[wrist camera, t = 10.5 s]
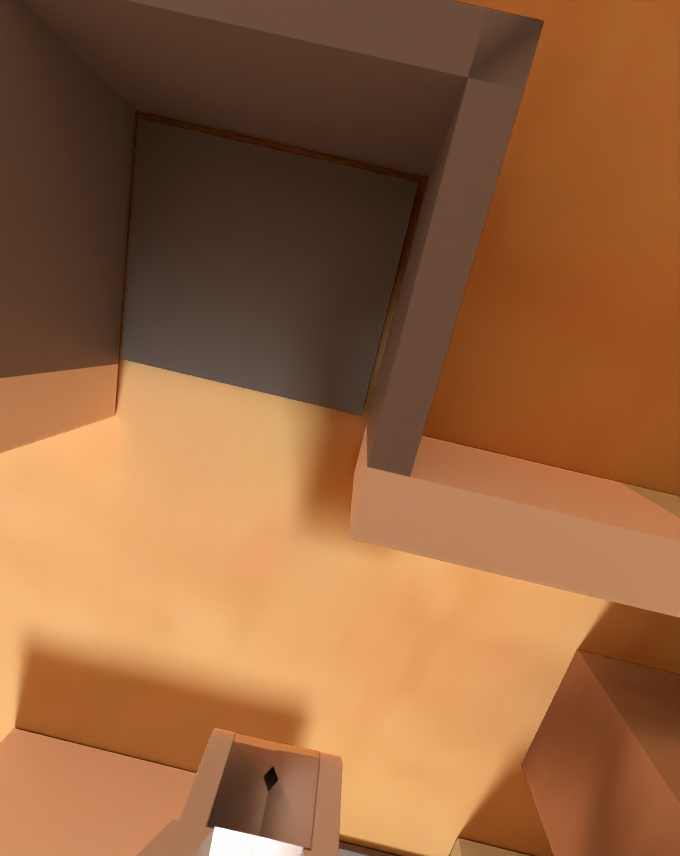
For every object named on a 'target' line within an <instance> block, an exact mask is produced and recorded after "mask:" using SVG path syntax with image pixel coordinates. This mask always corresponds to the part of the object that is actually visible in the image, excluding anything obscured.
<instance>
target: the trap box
mask: <svg viewBox="0 0 680 856" xmlns="http://www.w3.org/2000/svg"><path fill="white" fill-rule="evenodd" d="M543 23H544V21H543V20H538V19H534V18H529V17H525V16H520V15H516V14H511V13H507V12H502V11H498V10H493V9H489V8H484V7H480V6H475V5H471V4H467V3H462V2H458V1H453V0H0V453H2V452H6V451H9V450H12V449H15V448H18V447H21V446H24V445H27V444H30V443H33V442H36V441H39V440H42V439H45V438H48V437H51V436H55V435H58V434H61V433H64V432H67V431H70V430H73V429H76V428H79V427H82V426H85V425H88V424H91V423H94V422H97V421H101V420H104V419H107V418H110V417H113V416H115V404H116V390H117V375H118V361H119V347H120V333H121V319H122V305H123V291H124V276H125V262H126V248H127V234H128V220H129V206H130V191H131V177H132V163H133V149H134V135H135V121H136V111H139V112H143V113H147V114H152V115H156V116H160V117H165V118H169V119H174V120H178V121H182V122H187V123H191V124H195V125H200V126H204V127H209V128H213V129H217V130H222V131H226V132H230V133H235V134H239V135H243V136H248V137H252V138H257V139H261V140H265V141H270V142H274V143H278V144H283V145H287V146H292V147H296V148H300V149H305V150H309V151H313V152H318V153H322V154H327V155H331V156H335V157H340V158H344V159H348V160H353V161H357V162H362V163H366V164H370V165H375V166H379V167H383V168H388V169H392V170H396V171H401V172H405V173H410V174H414V175H418V176H423V177H427V178H428V181H427V185H426V189H425V193H424V197H423V201H422V205H421V209H420V213H419V217H418V221H417V225H416V229H415V233H414V237H413V241H412V245H411V249H410V253H409V257H408V261H407V265H406V269H405V273H404V277H403V280H402V284H401V288H400V292H399V296H398V300H397V304H396V308H395V312H394V316H393V320H392V324H391V328H390V332H389V336H388V340H387V344H386V348H385V352H384V356H383V360H382V364H381V368H380V372H379V376H378V380H377V384H376V388H375V392H374V396H373V400H372V404H371V408H370V412H369V416H368V420H367V423H366V427H365V431H364V435H363V439H362V443H361V447H360V451H359V455H358V459H357V463H356V467H355V471H354V480H353V491H352V503H351V514H350V526H349V537H348V538H349V539H353V540H357V541H361V542H366V543H370V544H374V545H378V546H382V547H386V548H391V549H395V550H399V551H403V552H407V553H412V554H416V555H420V556H424V557H428V558H432V559H437V560H441V561H445V562H449V563H453V564H457V565H462V566H466V567H470V568H474V569H478V570H483V571H487V572H491V573H495V574H499V575H503V576H508V577H512V578H516V579H520V580H524V581H529V582H533V583H537V584H541V585H545V586H549V587H554V588H558V589H562V590H566V591H570V592H574V593H579V594H583V595H587V596H591V597H595V598H600V599H604V600H608V601H612V602H616V603H620V604H625V605H629V606H633V607H637V608H641V609H646V610H650V611H654V612H658V613H662V614H666V615H671V616H675V617H679V618H680V496H676V495H672V494H667V493H663V492H659V491H655V490H650V489H646V488H642V487H638V486H633V485H629V484H625V483H621V482H616V481H612V480H608V479H604V478H600V477H595V476H591V475H587V474H583V473H578V472H574V471H570V470H566V469H561V468H557V467H553V466H549V465H544V464H540V463H536V462H532V461H527V460H523V459H519V458H515V457H511V456H506V455H502V454H498V453H494V452H489V451H485V450H481V449H477V448H472V447H468V446H464V445H460V444H455V443H451V442H447V441H443V440H438V439H434V438H430V437H426V436H422V434H423V431H424V428H425V424H426V421H427V417H428V414H429V411H430V407H431V404H432V400H433V397H434V394H435V390H436V387H437V383H438V380H439V377H440V373H441V370H442V366H443V363H444V360H445V356H446V353H447V349H448V346H449V343H450V339H451V336H452V332H453V329H454V326H455V322H456V319H457V315H458V312H459V309H460V305H461V302H462V298H463V295H464V292H465V288H466V285H467V281H468V278H469V275H470V271H471V268H472V264H473V261H474V258H475V254H476V251H477V247H478V244H479V241H480V237H481V234H482V230H483V227H484V224H485V220H486V217H487V213H488V210H489V207H490V203H491V200H492V196H493V193H494V190H495V186H496V183H497V179H498V176H499V173H500V169H501V166H502V162H503V159H504V156H505V152H506V149H507V145H508V142H509V139H510V135H511V132H512V128H513V125H514V122H515V118H516V115H517V111H518V108H519V105H520V101H521V98H522V94H523V91H524V88H525V84H526V81H527V77H528V74H529V71H530V67H531V64H532V60H533V57H534V54H535V50H536V47H537V43H538V40H539V37H540V33H541V30H542V26H543ZM418 183H419V182H416V181H412V180H408V179H403V178H399V177H395V176H390V175H386V174H381V173H377V172H373V171H368V170H364V169H360V168H355V167H351V166H347V165H342V164H338V163H333V162H329V161H325V160H320V159H316V158H312V157H307V156H303V155H298V154H294V153H290V152H285V151H281V150H277V149H272V148H268V147H264V146H259V145H255V144H250V143H246V142H242V141H237V140H233V139H229V138H224V137H220V136H215V135H211V134H207V133H202V132H198V131H194V130H189V129H185V128H181V127H176V126H172V125H167V124H163V123H159V122H154V121H150V120H146V119H141V118H139V121H138V135H137V148H136V162H135V176H134V190H133V204H132V217H131V231H130V245H129V259H128V273H127V286H126V300H125V314H124V328H123V342H122V356H121V359H124V360H128V361H132V362H137V363H141V364H145V365H149V366H154V367H158V368H162V369H166V370H171V371H175V372H179V373H183V374H188V375H192V376H196V377H200V378H204V379H209V380H213V381H217V382H221V383H226V384H230V385H234V386H238V387H243V388H247V389H251V390H255V391H260V392H264V393H268V394H272V395H277V396H281V397H285V398H289V399H294V400H298V401H302V402H306V403H311V404H315V405H319V406H323V407H327V408H332V409H336V410H340V411H344V412H349V413H353V414H357V415H361V414H362V410H363V406H364V402H365V398H366V394H367V390H368V386H369V382H370V378H371V374H372V370H373V366H374V362H375V358H376V353H377V349H378V345H379V341H380V337H381V333H382V329H383V325H384V321H385V317H386V313H387V309H388V305H389V301H390V297H391V293H392V289H393V284H394V280H395V276H396V272H397V268H398V264H399V260H400V256H401V252H402V248H403V244H404V240H405V236H406V232H407V228H408V224H409V220H410V216H411V211H412V207H413V203H414V199H415V195H416V191H417V187H418ZM195 775H196V773H193V772H189V771H185V770H181V769H177V768H173V767H169V766H165V765H161V764H157V763H153V762H149V761H145V760H141V759H137V758H133V757H128V756H124V755H120V754H116V753H112V752H108V751H104V750H100V749H96V748H92V747H88V746H84V745H80V744H76V743H72V742H68V741H64V740H60V739H56V738H52V737H47V736H43V735H39V734H35V733H31V732H27V731H23V730H19V729H15V728H13V729H12V731H11V732H10V733H9V734H8V735H7V736H6V737H5V738H4V739H3V741H2V742H1V743H0V856H136V855H137V854H138V853H139V852H140V851H141V850H142V849H143V848H144V847H145V846H146V845H147V844H148V843H149V842H150V841H151V840H152V839H153V838H154V837H155V836H156V835H157V834H158V833H159V831H160V830H161V829H162V828H163V827H164V826H165V825H166V824H167V823H168V822H169V821H170V820H171V819H177V820H179V818H180V816H181V813H182V810H183V808H184V805H185V802H186V800H187V797H188V794H189V792H190V789H191V786H192V783H193V781H194V778H195ZM338 856H396V855H392V854H388V853H384V852H380V851H376V850H372V849H368V848H364V847H360V846H356V845H352V844H348V843H344V842H340V841H339V850H338ZM450 856H529V855H525V854H521V853H517V852H513V851H509V850H505V849H501V848H497V847H493V846H489V845H485V844H481V843H477V842H473V841H469V840H465V839H461V838H458V839H457V841H456V843H455V845H454V848H453V850H452V852H451V854H450Z"/></svg>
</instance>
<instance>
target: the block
mask: <svg viewBox="0 0 680 856" xmlns="http://www.w3.org/2000/svg"><path fill="white" fill-rule="evenodd" d="M521 766H522V769H523V772H524V774H525V777H526V780H527V783H528V786H529V788H530V791H531V794H532V797H533V800H534V802H535V805H536V808H537V811H538V814H539V816H540V819H541V822H542V825H543V828H544V830H545V833H546V836H547V839H548V841H549V844H550V847H551V850H552V853H553V855H554V856H680V674H676V673H672V672H667V671H663V670H659V669H655V668H651V667H647V666H643V665H639V664H635V663H630V662H626V661H622V660H618V659H614V658H610V657H606V656H602V655H598V654H593V653H589V652H585V651H581V650H577V651H576V653H575V655H574V657H573V659H572V661H571V663H570V665H569V667H568V669H567V671H566V673H565V675H564V677H563V679H562V682H561V684H560V686H559V688H558V690H557V692H556V694H555V696H554V698H553V700H552V702H551V704H550V706H549V708H548V710H547V712H546V715H545V717H544V719H543V721H542V723H541V725H540V727H539V729H538V731H537V733H536V735H535V737H534V739H533V741H532V743H531V746H530V748H529V750H528V752H527V754H526V756H525V758H524V760H523V762H522V764H521Z"/></svg>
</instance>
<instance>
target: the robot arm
mask: <svg viewBox="0 0 680 856" xmlns="http://www.w3.org/2000/svg"><path fill="white" fill-rule="evenodd" d="M341 784H342V760H341V756H337V755H332V754H327V753H323V752H319V751H317V750H312V749H307V748H302V747H297V746H293V745H288V744H283V743H276V742H272V741H268V740H264V739H259V738H255V737H251V736H247V735H242V734H238V733H236V732H232V731H227V730H223V729H218V728H214V730H213V732H212V734H211V736H210V738H209V741H208V743H207V746H206V749H205V751H204V754H203V757H202V759H201V762H200V765H199V767H198V770H197V773H196V775H195V778H194V781H193V783H192V786H191V789H190V792H189V794H188V797H187V800H186V802H185V805H184V808H183V810H182V813H181V816H180V818H179V820H177V819H171V820H170V821H169V822H168V823H167V824H166V825H165V826H164V827H163V828H162V829H161V830H160V831H159V833H158V834H157V835H156V836H155V837H154V838H153V839H152V840H151V841H150V842H149V843H148V844H147V845H146V846H145V847H144V848H143V849H142V850H141V851H140V852H139V853H138V854H137V855H136V856H338V850H339V828H340V806H341Z"/></svg>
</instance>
